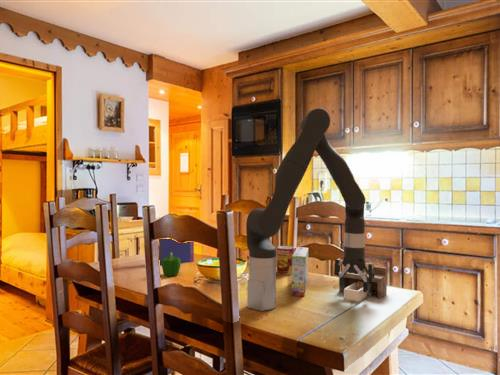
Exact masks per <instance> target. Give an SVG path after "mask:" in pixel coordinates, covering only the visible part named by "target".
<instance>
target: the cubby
mask: <svg viewBox="0 0 500 375" xmlns="http://www.w3.org/2000/svg"><path fill="white" fill-rule="evenodd" d="M387 268H388V267H384V266H383V267H381V266H377V265H376V266H375V265H374V280H372V281H369V283H372V291H371V292H369V295H368V297H373V296H374V295H375V294H377V299H382V298H383V297H385V296H386V295H387V283H388V282H387V280H388V277H387V274H388V273H387V272H388V271H387V270H388V269H387ZM364 270H365V272H366V274H367V276H368V277H369V272H368V269H367V267H366V266H365V268H364ZM341 272H342V270H340V273H341ZM344 277H345V287H344V288H346V287H348V286H350V285H351V284H353V283H355V282H356V281H362V282H364V280H363V279H362V277H361V276H360V275H359V274H354V273H349V272H347V273H346V274H345V276H344ZM338 287H339V289H338V290H339V292H344V288H341V287H340V286H338ZM384 295H385V296H384Z"/></svg>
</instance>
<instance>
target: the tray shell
mask: <svg viewBox="0 0 500 375" xmlns="http://www.w3.org/2000/svg"><path fill="white" fill-rule="evenodd" d="M371 291H372V283H369V290H368V291H367V292H363V282H362V281H356V282H355V283H353V284H351V285H350V286H348V287H346V288H344V291H343V300H348V301H351V302H360V301H362V300H363V299H365V298H366V297H369V292H371Z"/></svg>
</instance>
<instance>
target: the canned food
mask: <svg viewBox="0 0 500 375" xmlns="http://www.w3.org/2000/svg"><path fill="white" fill-rule="evenodd" d="M294 252H295V247H294V246H290V245H279V246H277V247H276V274H278V275H282V276H283V275H284V276H288V275H291V276H292V256H293V254H294Z"/></svg>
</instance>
